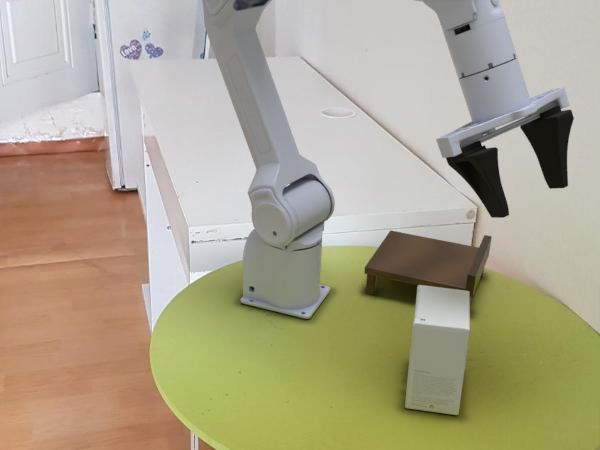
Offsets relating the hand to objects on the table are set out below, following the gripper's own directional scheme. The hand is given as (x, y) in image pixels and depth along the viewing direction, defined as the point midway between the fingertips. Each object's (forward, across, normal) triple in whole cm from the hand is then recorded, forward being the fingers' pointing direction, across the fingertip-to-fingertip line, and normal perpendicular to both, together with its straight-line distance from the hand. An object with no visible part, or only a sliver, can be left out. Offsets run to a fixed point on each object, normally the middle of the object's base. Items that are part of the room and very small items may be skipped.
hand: (530, 201), depth 74 cm
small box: (+17, -12, +9) cm, 23 cm away
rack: (+12, +1, +27) cm, 30 cm away
